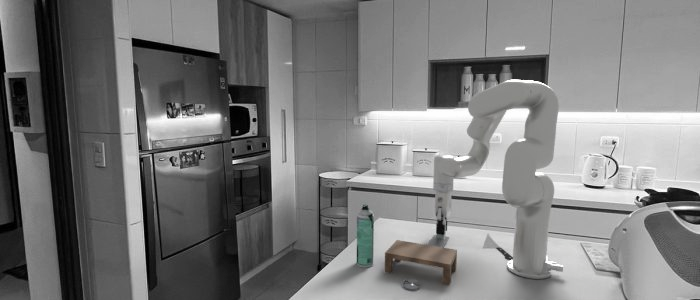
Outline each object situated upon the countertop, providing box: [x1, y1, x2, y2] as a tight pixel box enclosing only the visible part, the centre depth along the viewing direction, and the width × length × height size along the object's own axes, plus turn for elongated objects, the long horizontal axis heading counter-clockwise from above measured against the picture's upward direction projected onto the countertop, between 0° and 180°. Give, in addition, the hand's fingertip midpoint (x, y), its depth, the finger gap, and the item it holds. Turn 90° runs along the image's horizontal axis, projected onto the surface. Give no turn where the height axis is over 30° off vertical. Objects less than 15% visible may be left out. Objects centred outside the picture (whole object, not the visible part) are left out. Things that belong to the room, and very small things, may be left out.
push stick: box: [427, 219, 450, 248], centre depth 137 cm, size 6×25×8 cm, turn 155°
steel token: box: [402, 278, 421, 291], centre depth 109 cm, size 5×5×1 cm
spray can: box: [356, 204, 375, 268], centre depth 122 cm, size 6×6×20 cm
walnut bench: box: [384, 239, 458, 286], centre depth 118 cm, size 20×12×6 cm, turn 65°
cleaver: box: [482, 233, 513, 261], centre depth 141 cm, size 29×1×10 cm
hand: (441, 231), depth 147 cm, fingers open, 4 cm apart
